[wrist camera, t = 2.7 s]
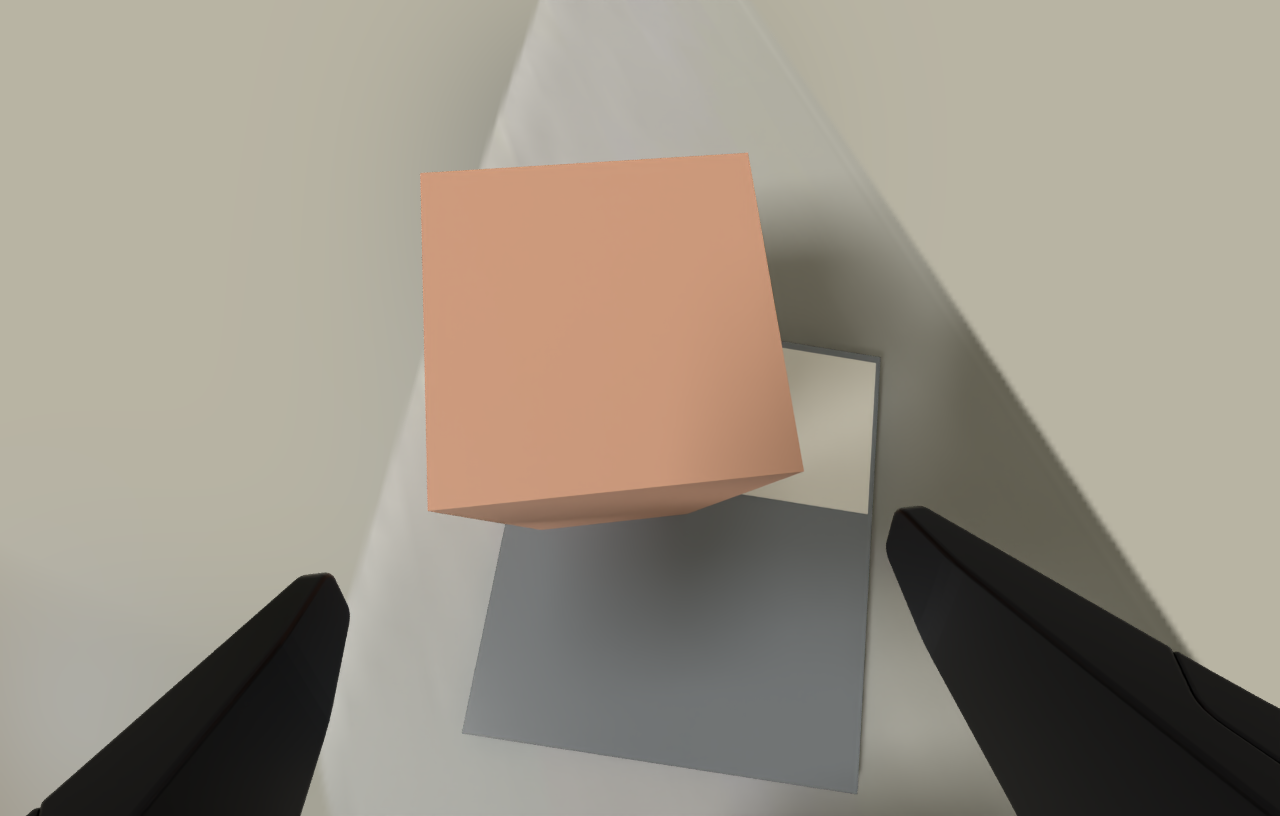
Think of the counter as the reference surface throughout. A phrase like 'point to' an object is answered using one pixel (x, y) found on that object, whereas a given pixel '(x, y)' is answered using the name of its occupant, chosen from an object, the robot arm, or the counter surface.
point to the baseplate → (703, 614)
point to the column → (600, 342)
